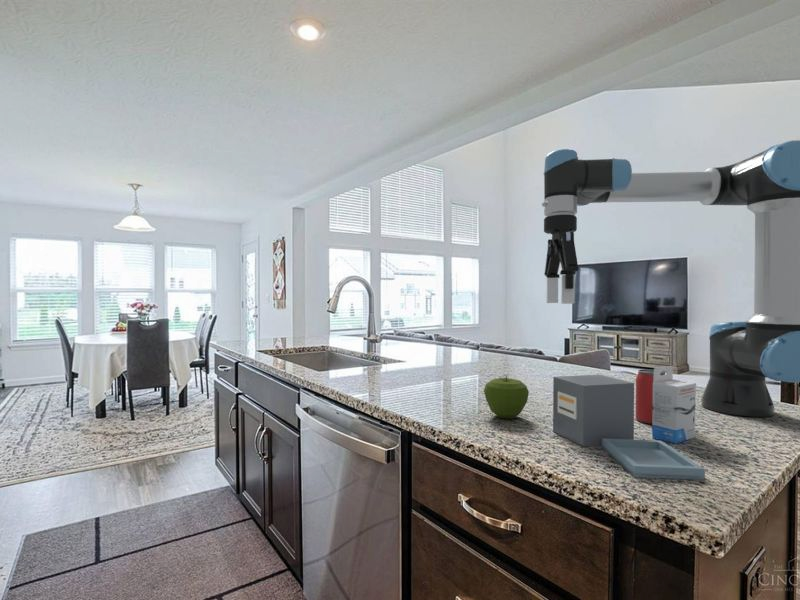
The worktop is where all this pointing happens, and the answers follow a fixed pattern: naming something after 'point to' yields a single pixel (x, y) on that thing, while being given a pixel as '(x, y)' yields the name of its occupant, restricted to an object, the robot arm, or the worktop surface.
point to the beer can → (644, 395)
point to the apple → (506, 397)
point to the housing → (593, 408)
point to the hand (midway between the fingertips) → (559, 303)
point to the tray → (652, 459)
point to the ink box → (672, 407)
